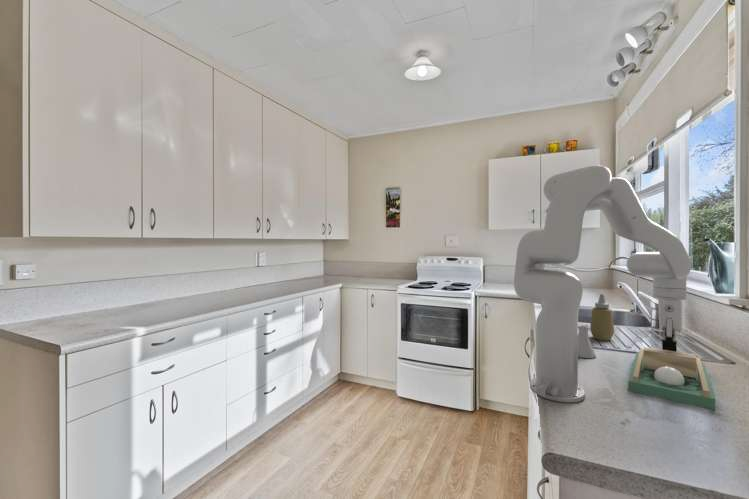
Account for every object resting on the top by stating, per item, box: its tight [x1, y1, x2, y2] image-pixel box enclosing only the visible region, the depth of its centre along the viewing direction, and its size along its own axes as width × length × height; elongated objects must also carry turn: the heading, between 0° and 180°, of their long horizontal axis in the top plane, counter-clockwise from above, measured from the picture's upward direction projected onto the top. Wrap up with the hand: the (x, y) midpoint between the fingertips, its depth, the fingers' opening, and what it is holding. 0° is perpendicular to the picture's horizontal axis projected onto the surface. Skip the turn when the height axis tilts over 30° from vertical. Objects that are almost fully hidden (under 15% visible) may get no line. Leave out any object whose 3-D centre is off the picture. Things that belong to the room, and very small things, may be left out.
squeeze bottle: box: [589, 293, 615, 342], centre depth 133 cm, size 8×8×18 cm
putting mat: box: [627, 347, 716, 411], centre depth 93 cm, size 30×16×4 cm, turn 139°
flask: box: [578, 325, 597, 359], centre depth 114 cm, size 7×7×10 cm
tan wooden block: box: [643, 346, 697, 378], centre depth 93 cm, size 4×11×5 cm, turn 49°
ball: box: [654, 366, 685, 386], centre depth 87 cm, size 6×6×6 cm
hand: (669, 353), depth 101 cm, fingers closed
